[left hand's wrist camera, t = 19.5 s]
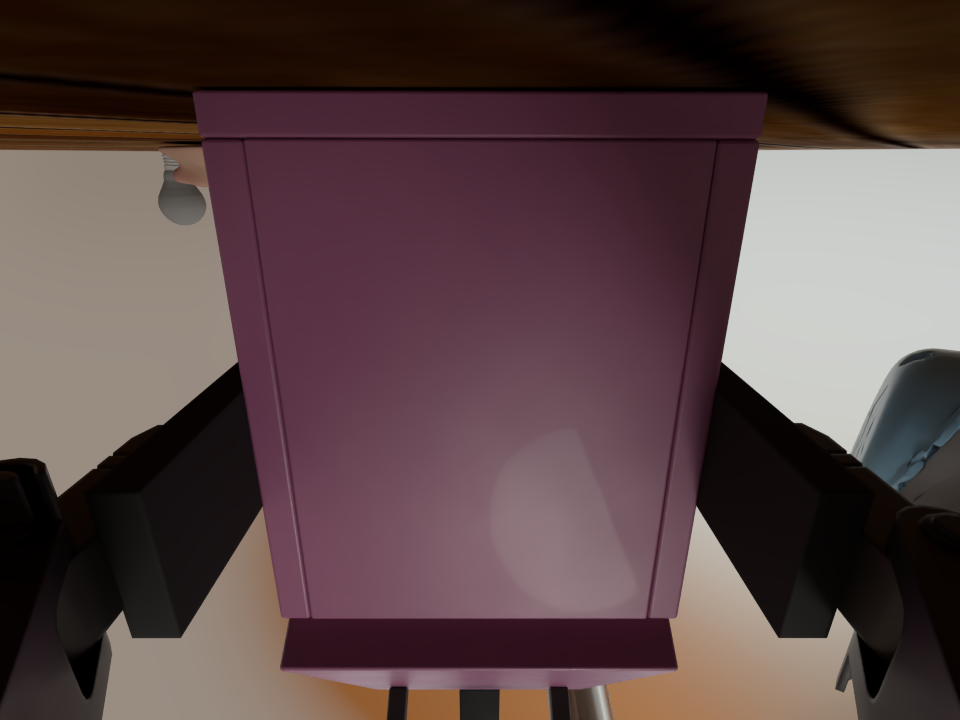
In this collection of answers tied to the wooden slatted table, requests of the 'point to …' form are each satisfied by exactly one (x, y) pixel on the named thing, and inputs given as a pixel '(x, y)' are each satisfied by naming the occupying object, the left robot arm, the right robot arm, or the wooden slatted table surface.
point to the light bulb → (180, 198)
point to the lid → (479, 654)
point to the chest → (479, 338)
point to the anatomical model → (188, 164)
